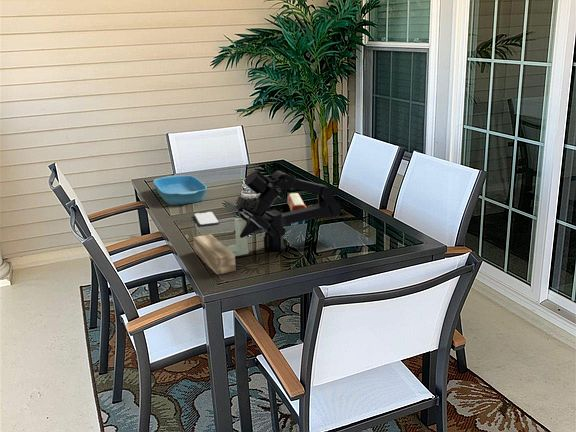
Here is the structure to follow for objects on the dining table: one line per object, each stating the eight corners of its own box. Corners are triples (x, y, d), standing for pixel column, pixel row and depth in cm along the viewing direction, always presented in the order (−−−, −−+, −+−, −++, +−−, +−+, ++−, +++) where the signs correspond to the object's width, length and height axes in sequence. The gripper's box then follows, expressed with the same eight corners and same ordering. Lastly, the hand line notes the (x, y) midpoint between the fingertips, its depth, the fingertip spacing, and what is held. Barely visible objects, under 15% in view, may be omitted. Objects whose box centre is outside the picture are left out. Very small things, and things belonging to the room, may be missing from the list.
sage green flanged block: (242, 248, 212) (240, 217, 209) (248, 253, 207) (247, 221, 203) (221, 252, 209) (219, 221, 205) (227, 257, 204) (225, 225, 200)
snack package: (287, 205, 268) (286, 191, 266) (301, 205, 269) (300, 191, 267) (292, 219, 248) (291, 204, 246) (307, 219, 249) (307, 204, 247)
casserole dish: (212, 203, 274) (211, 189, 272) (166, 209, 266) (164, 195, 264) (192, 186, 307) (191, 172, 304) (150, 191, 298) (149, 177, 296)
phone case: (220, 226, 244) (212, 214, 258) (220, 222, 243) (212, 211, 258) (199, 228, 241) (193, 216, 256) (199, 225, 241) (192, 213, 255)
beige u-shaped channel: (211, 248, 217) (210, 234, 215) (235, 270, 196) (234, 254, 194) (194, 251, 214) (193, 237, 212) (217, 274, 193) (216, 258, 192)
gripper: (239, 182, 212) (212, 215, 210) (260, 194, 196) (231, 230, 194) (259, 199, 217) (233, 232, 216) (281, 212, 202) (254, 247, 200)
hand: (237, 235), depth 207 cm, fingers closed on sage green flanged block, 5 cm apart
